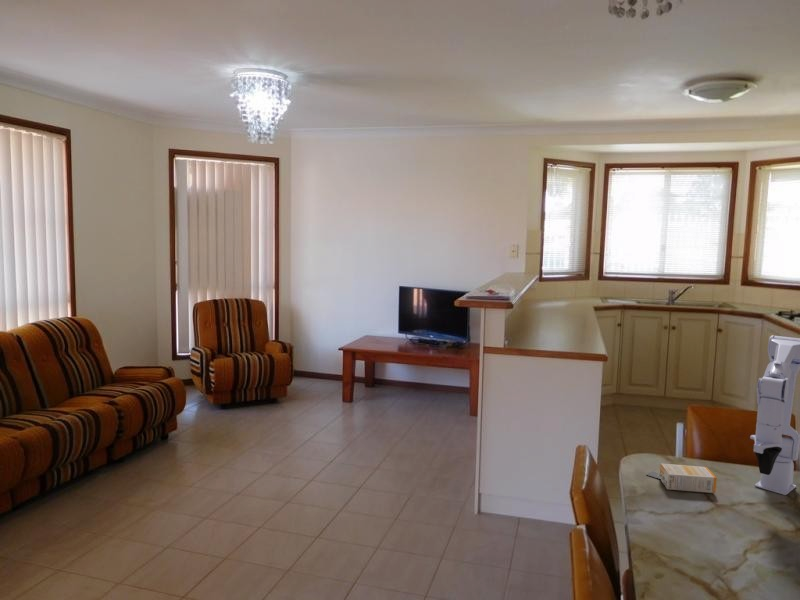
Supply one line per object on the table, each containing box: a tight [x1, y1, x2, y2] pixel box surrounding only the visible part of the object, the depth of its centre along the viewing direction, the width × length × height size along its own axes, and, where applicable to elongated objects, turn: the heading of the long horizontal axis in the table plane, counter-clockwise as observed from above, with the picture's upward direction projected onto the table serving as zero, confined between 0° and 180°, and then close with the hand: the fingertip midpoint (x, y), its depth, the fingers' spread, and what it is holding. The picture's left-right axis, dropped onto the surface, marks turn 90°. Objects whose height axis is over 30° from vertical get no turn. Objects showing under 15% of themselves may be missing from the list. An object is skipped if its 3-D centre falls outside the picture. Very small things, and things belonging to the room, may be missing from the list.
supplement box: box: [659, 463, 718, 494], centre depth 170 cm, size 8×5×13 cm
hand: (765, 473), depth 155 cm, fingers closed
